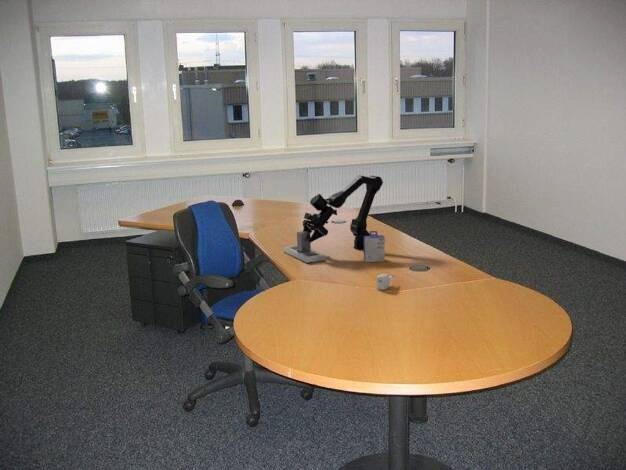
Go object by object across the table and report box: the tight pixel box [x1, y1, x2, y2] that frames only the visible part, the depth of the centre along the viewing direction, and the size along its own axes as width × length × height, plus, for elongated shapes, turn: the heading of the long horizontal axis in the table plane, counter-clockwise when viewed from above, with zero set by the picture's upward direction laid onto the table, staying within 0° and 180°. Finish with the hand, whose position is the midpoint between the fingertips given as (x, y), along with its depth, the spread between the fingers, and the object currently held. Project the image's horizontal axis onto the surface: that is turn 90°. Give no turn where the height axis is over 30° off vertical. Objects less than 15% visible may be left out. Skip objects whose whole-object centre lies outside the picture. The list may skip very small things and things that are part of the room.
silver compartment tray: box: [283, 245, 326, 265], centre depth 308 cm, size 26×10×3 cm, turn 27°
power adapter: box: [375, 272, 395, 291], centre depth 255 cm, size 11×5×6 cm, turn 150°
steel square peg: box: [296, 230, 312, 253], centre depth 307 cm, size 5×5×12 cm
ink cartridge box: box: [363, 230, 386, 263], centre depth 296 cm, size 10×6×14 cm, turn 95°
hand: (304, 240), depth 306 cm, fingers open, 9 cm apart
